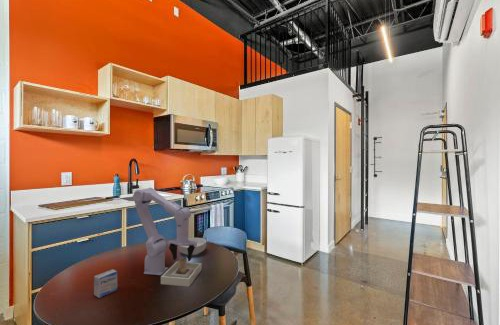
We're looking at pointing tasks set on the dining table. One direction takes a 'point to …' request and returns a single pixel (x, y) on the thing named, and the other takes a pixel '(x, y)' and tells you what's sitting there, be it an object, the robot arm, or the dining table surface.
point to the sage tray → (181, 275)
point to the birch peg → (182, 266)
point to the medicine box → (105, 283)
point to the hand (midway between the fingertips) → (182, 259)
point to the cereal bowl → (198, 249)
